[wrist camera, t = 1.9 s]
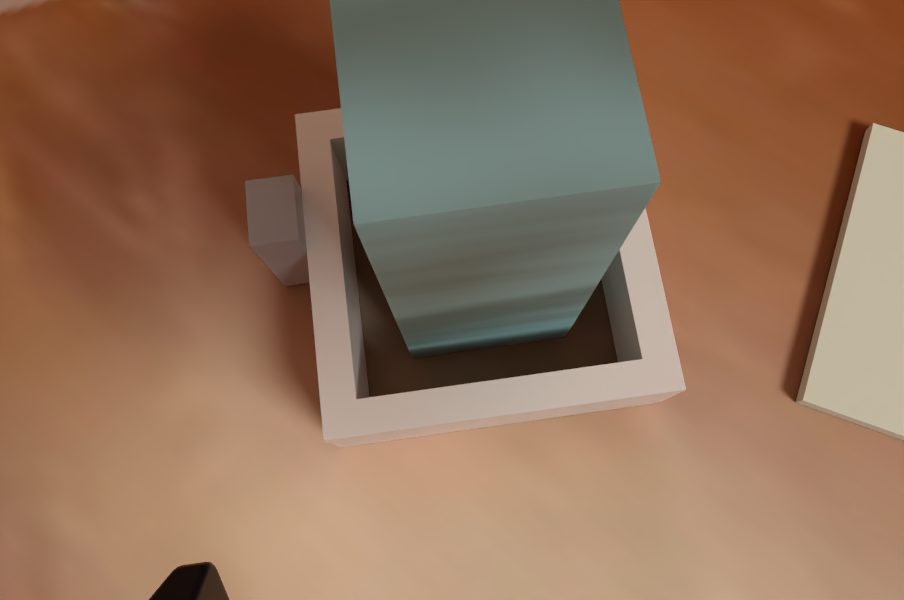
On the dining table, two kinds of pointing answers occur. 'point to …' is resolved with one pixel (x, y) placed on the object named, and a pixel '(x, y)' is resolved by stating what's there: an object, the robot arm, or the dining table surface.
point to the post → (490, 160)
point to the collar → (453, 407)
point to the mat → (864, 299)
